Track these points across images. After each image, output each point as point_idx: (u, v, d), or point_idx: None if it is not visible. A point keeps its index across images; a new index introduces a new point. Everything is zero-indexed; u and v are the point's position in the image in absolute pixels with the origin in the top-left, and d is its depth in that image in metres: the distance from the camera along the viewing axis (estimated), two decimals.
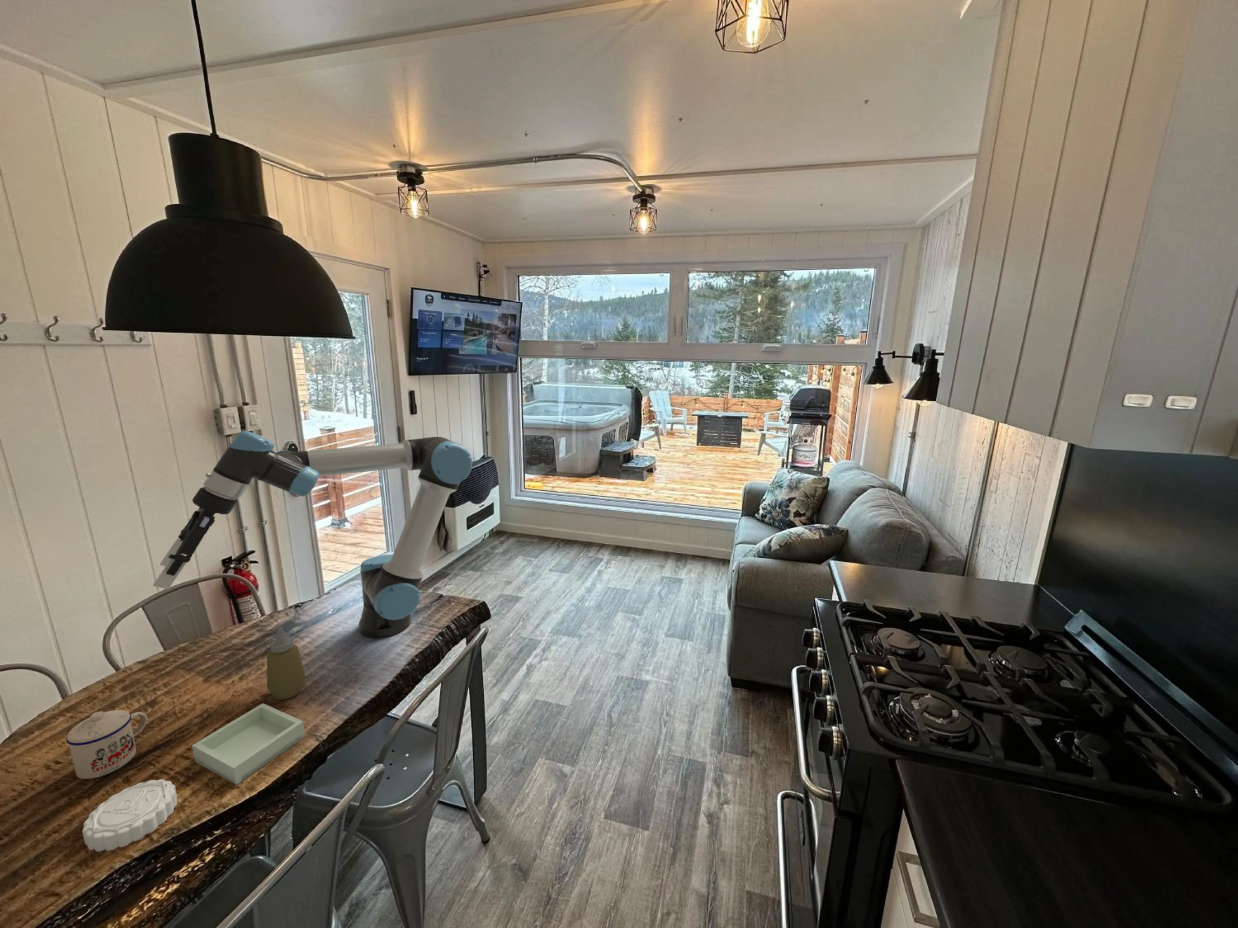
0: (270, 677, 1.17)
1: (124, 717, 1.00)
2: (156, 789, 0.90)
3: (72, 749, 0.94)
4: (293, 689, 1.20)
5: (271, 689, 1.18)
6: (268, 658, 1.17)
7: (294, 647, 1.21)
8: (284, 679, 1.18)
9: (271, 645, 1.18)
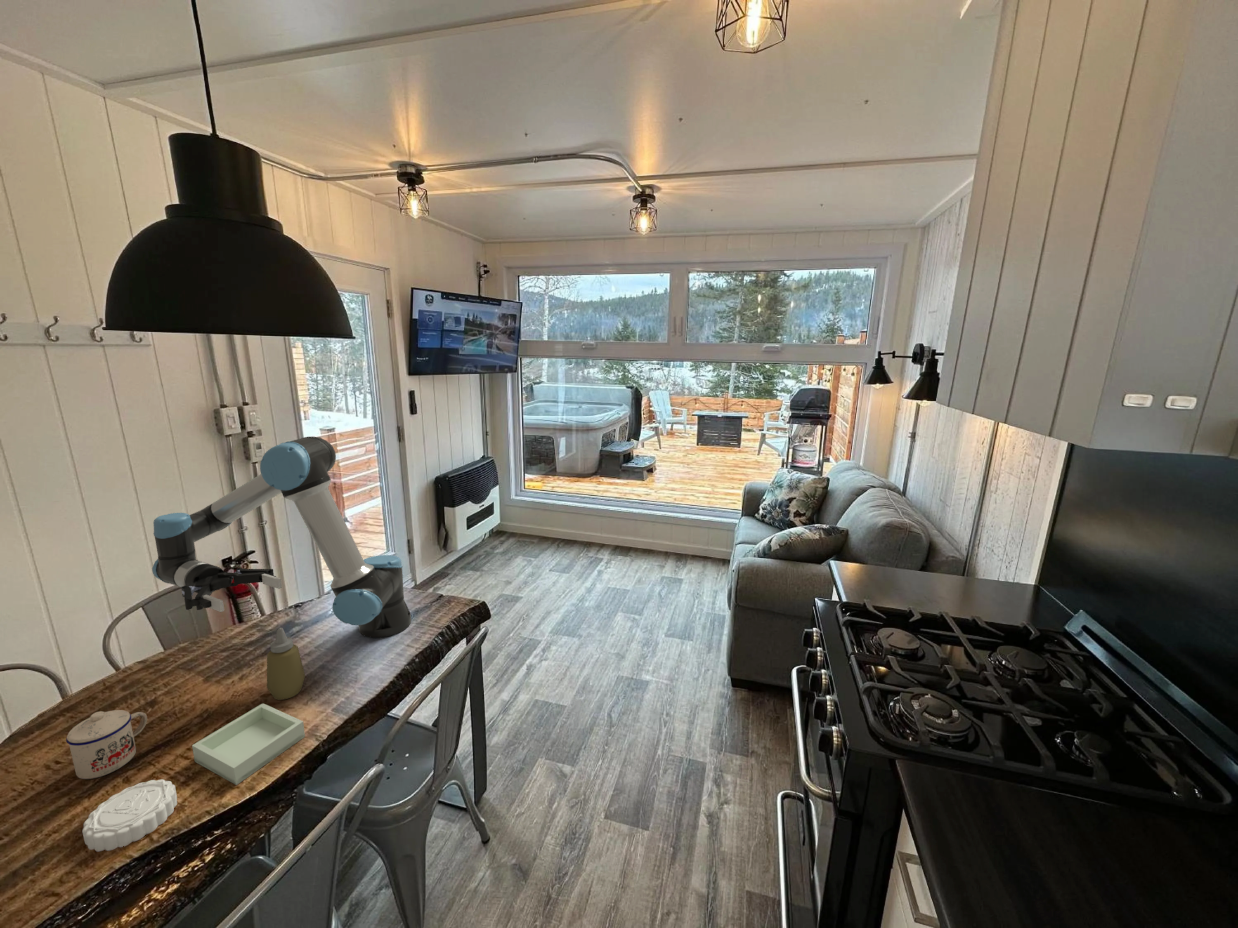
0: (270, 677, 1.17)
1: (124, 717, 1.00)
2: (156, 789, 0.90)
3: (72, 749, 0.94)
4: (293, 689, 1.20)
5: (271, 689, 1.18)
6: (268, 658, 1.17)
7: (294, 647, 1.21)
8: (284, 679, 1.18)
9: (271, 645, 1.18)
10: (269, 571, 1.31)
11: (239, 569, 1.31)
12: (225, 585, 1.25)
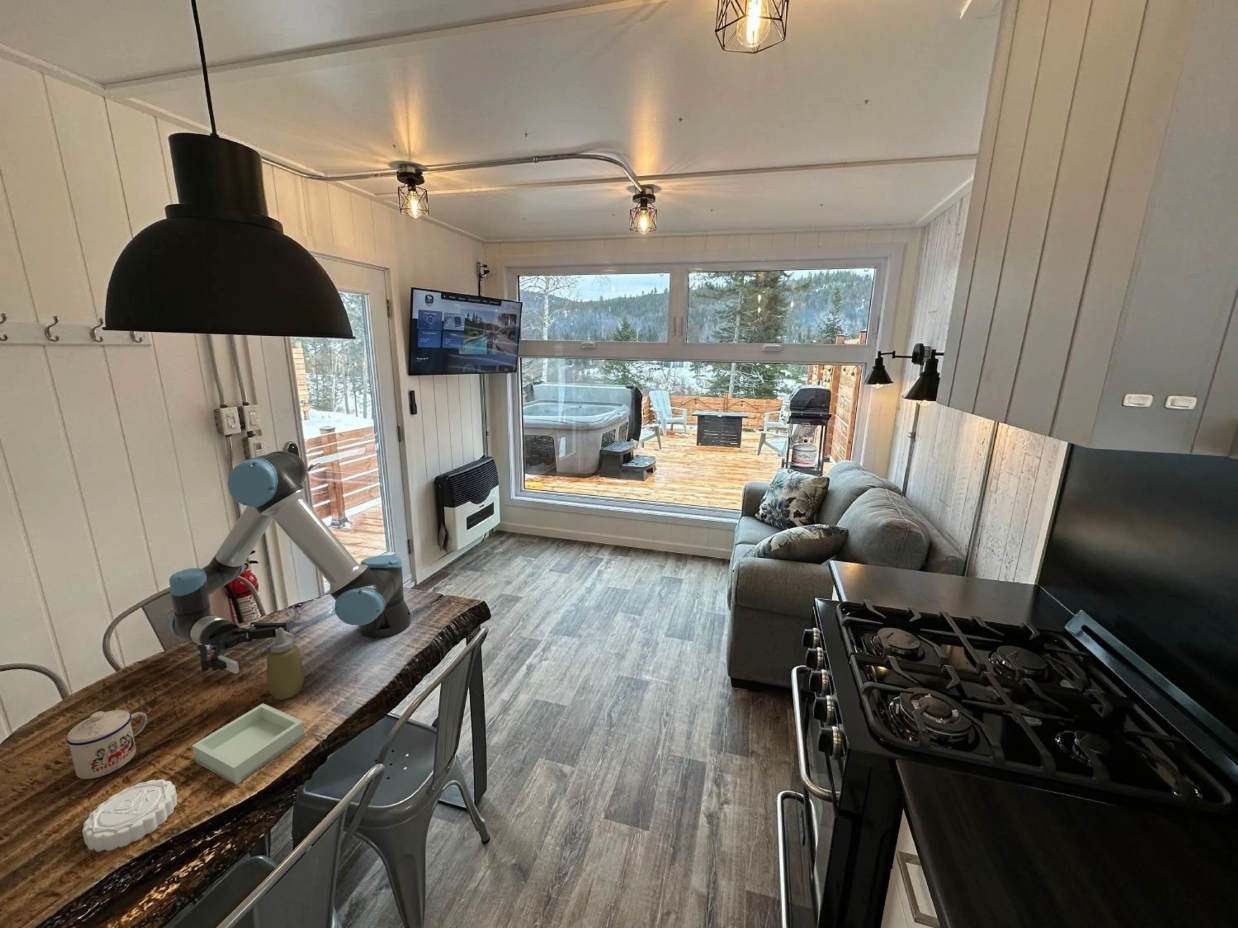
0: (270, 677, 1.17)
1: (124, 717, 1.00)
2: (156, 789, 0.90)
3: (72, 749, 0.94)
4: (293, 689, 1.20)
5: (271, 689, 1.18)
6: (268, 658, 1.17)
7: (294, 647, 1.21)
8: (284, 679, 1.18)
9: (271, 645, 1.18)
10: (282, 625, 1.33)
11: (253, 623, 1.33)
12: (240, 642, 1.27)
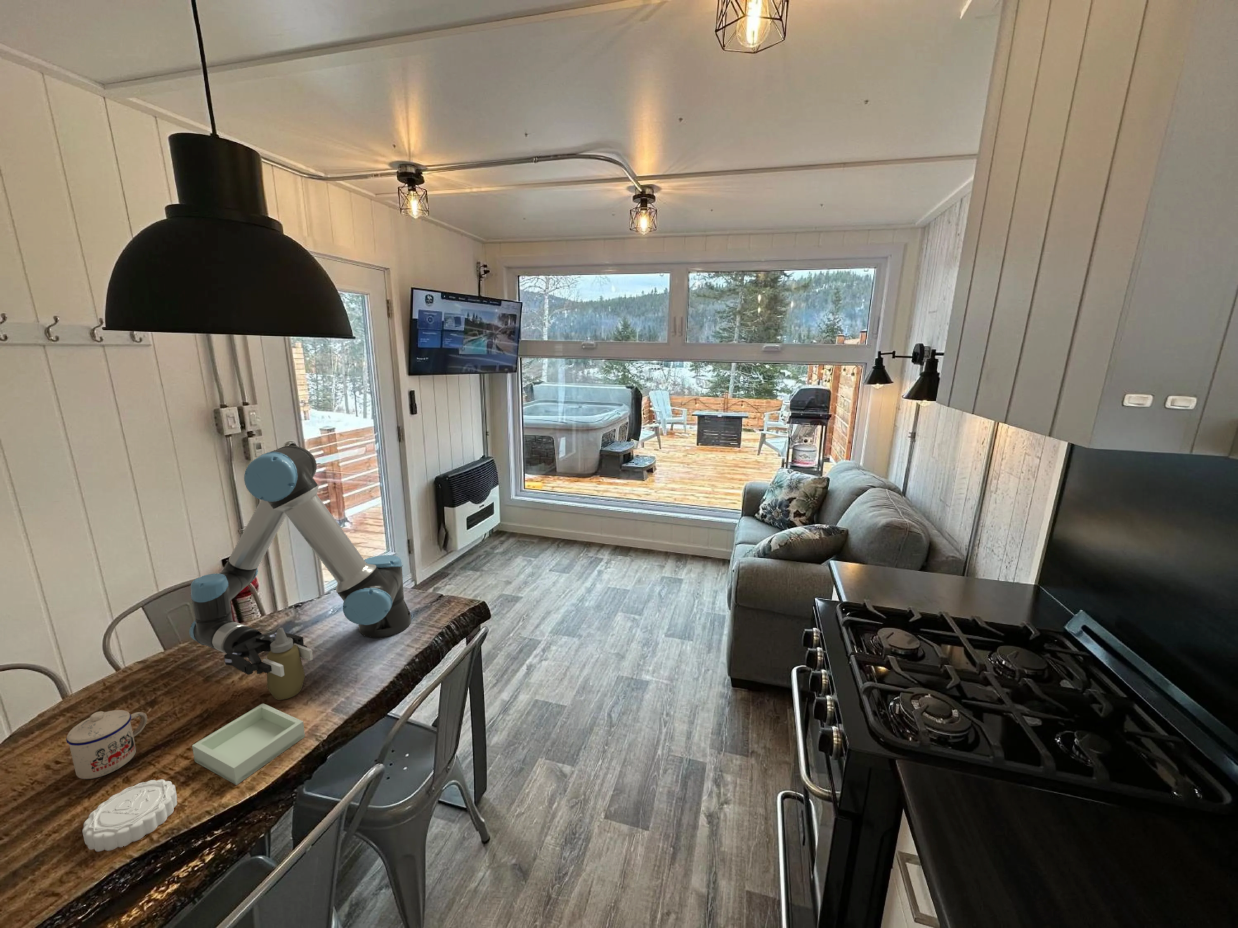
0: (270, 677, 1.17)
1: (124, 717, 1.00)
2: (156, 789, 0.90)
3: (72, 749, 0.94)
4: (293, 689, 1.20)
5: (271, 689, 1.18)
6: (268, 658, 1.17)
7: (294, 647, 1.21)
8: (284, 679, 1.18)
9: (271, 645, 1.18)
10: (299, 639, 1.26)
11: None
12: (263, 649, 1.24)
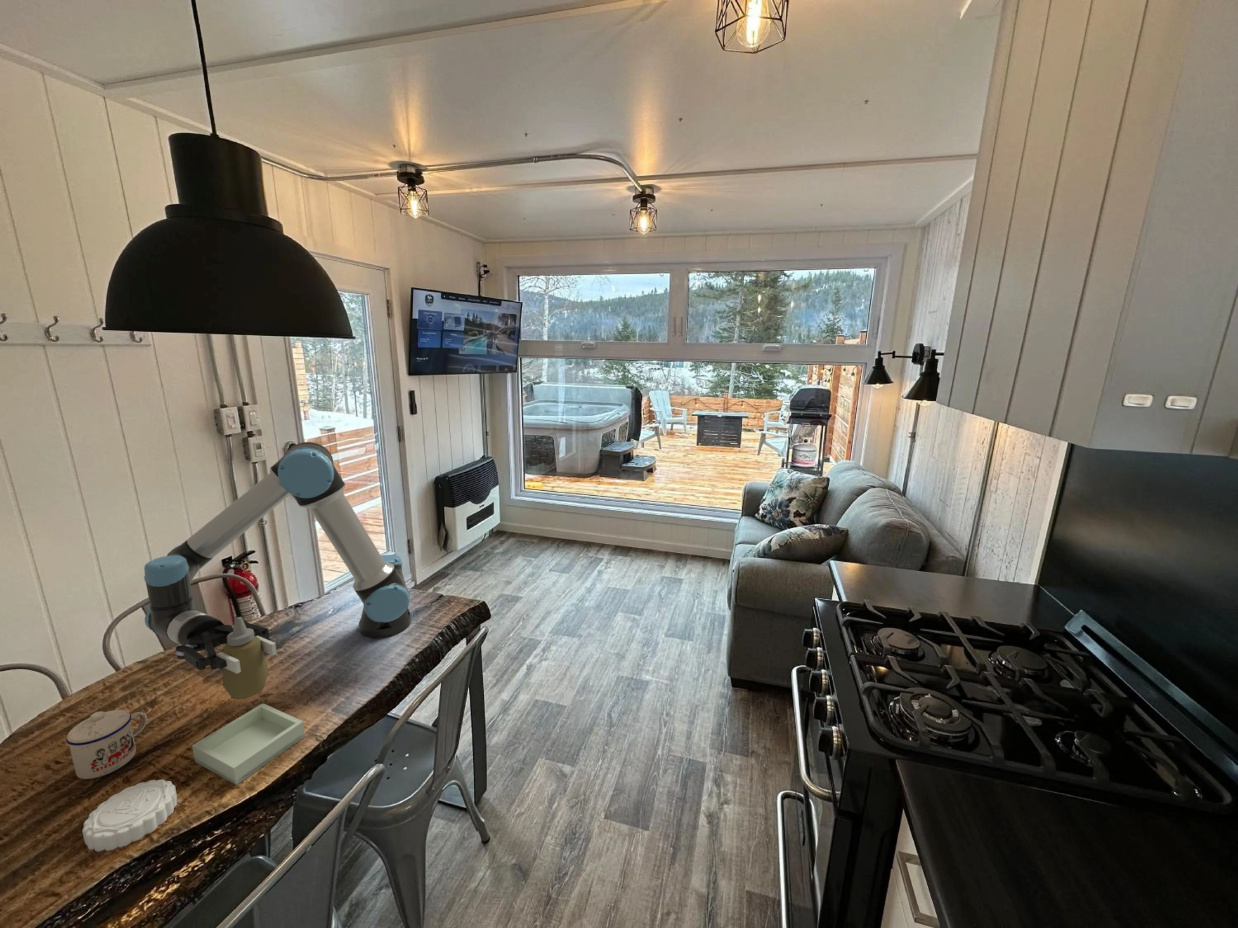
0: (226, 673, 1.02)
1: (124, 717, 1.00)
2: (156, 789, 0.90)
3: (72, 749, 0.94)
4: (252, 688, 1.05)
5: (227, 687, 1.03)
6: (224, 651, 1.02)
7: (255, 640, 1.06)
8: (242, 676, 1.03)
9: (228, 637, 1.03)
10: (263, 631, 1.11)
11: None
12: (223, 641, 1.09)
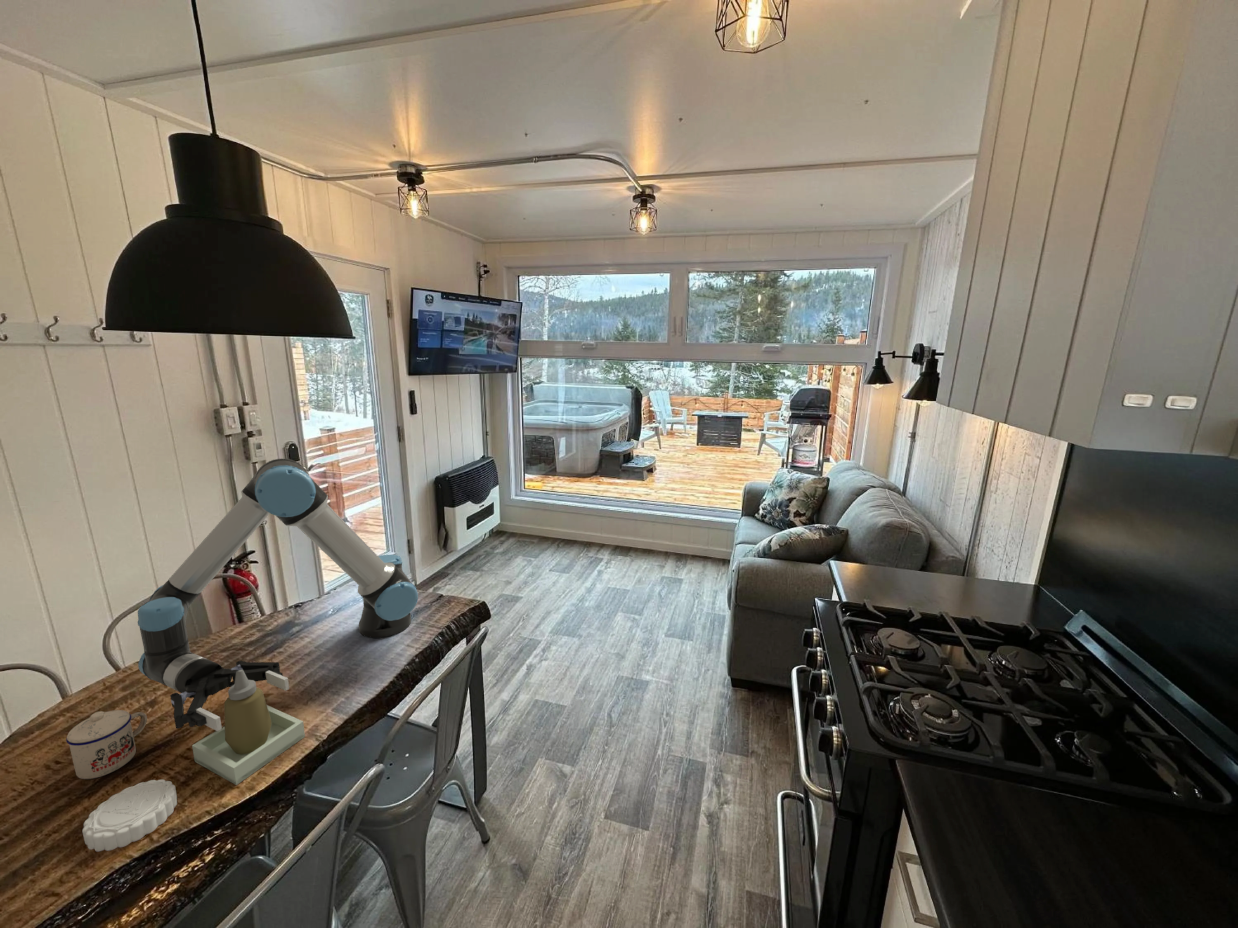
0: (229, 729, 0.99)
1: (124, 717, 1.00)
2: (156, 789, 0.90)
3: (72, 749, 0.94)
4: (256, 742, 1.02)
5: (230, 743, 1.00)
6: (225, 706, 0.99)
7: (257, 692, 1.03)
8: (245, 731, 1.00)
9: (229, 691, 1.00)
10: (274, 665, 1.11)
11: (240, 663, 1.11)
12: (223, 687, 1.06)
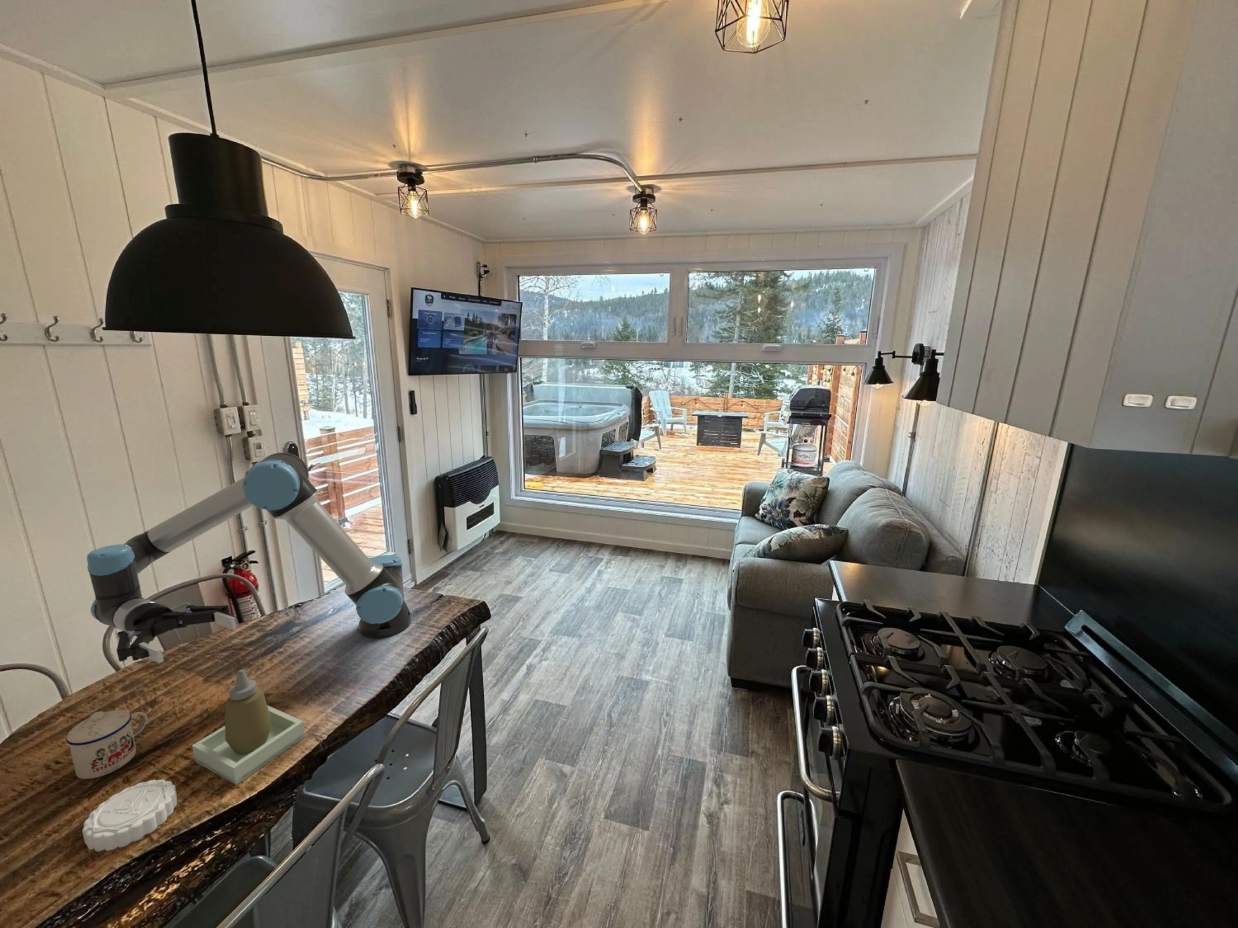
0: (229, 729, 0.99)
1: (124, 717, 1.00)
2: (156, 789, 0.90)
3: (72, 749, 0.94)
4: (256, 742, 1.02)
5: (230, 743, 1.00)
6: (226, 706, 0.99)
7: (258, 692, 1.03)
8: (245, 731, 1.00)
9: (230, 691, 1.00)
10: (224, 608, 1.15)
11: (189, 607, 1.15)
12: (171, 627, 1.09)
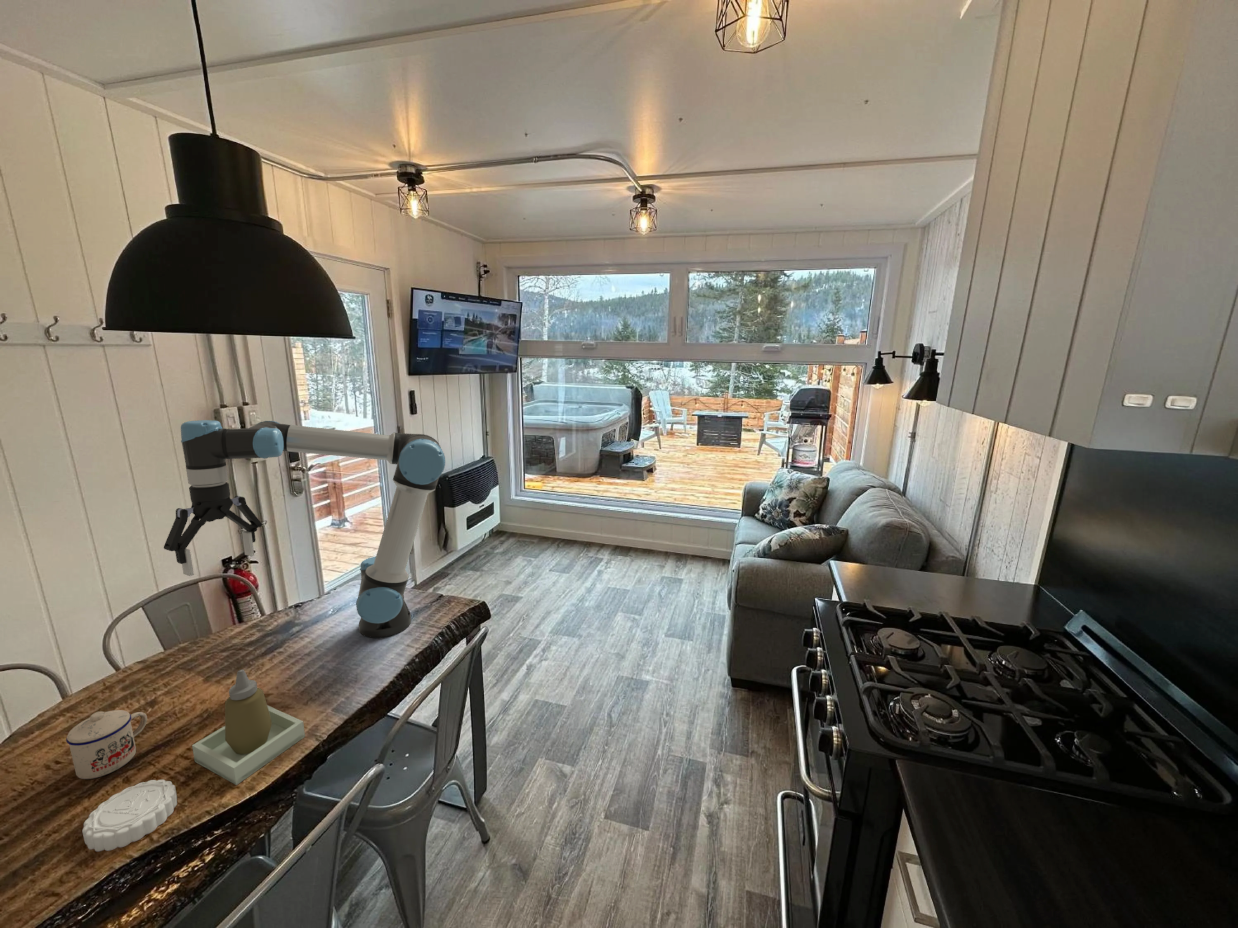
0: (229, 729, 0.99)
1: (124, 717, 1.00)
2: (156, 789, 0.90)
3: (72, 749, 0.94)
4: (256, 742, 1.02)
5: (230, 743, 1.00)
6: (226, 706, 0.99)
7: (258, 692, 1.03)
8: (245, 731, 1.00)
9: (230, 691, 1.00)
10: (257, 526, 1.28)
11: (241, 502, 1.24)
12: None
